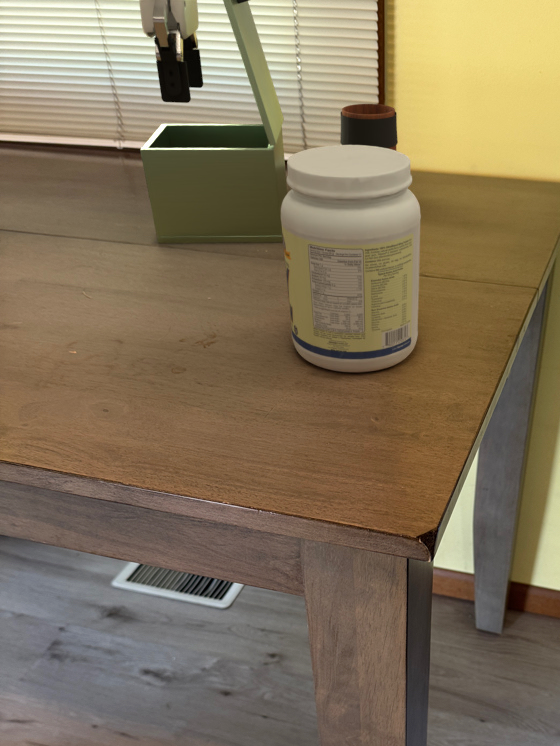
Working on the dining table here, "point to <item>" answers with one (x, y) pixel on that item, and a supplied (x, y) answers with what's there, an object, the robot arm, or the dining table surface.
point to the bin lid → (255, 66)
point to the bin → (215, 183)
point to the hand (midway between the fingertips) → (183, 94)
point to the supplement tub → (352, 256)
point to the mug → (369, 125)
